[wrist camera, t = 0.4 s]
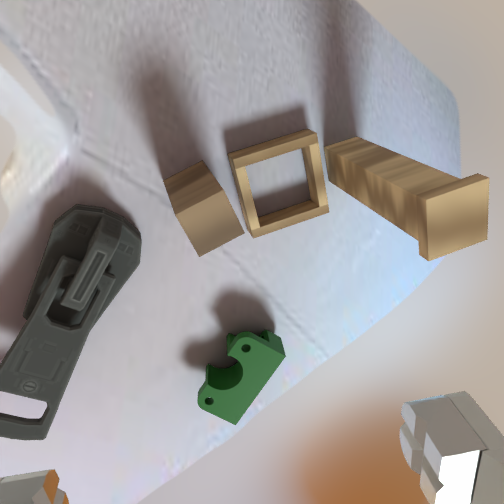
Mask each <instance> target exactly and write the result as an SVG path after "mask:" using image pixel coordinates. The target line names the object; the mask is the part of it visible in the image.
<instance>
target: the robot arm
mask: <svg viewBox="0 0 504 504" xmlns="http://www.w3.org/2000/svg"><path fill="white" fill-rule="evenodd" d="M401 415H402V417H403V418H404V420H405V423H404V424H403V425H402V426H401V428H400V442H401V446H402V451H403V453H404V456H405V459H406V461H407V463H408V465H409V466H410V468H411V469H412V470H413V471H415V472H416V473H418V474H419V475H421V479H420V487H421V489H422V491H423V493H424V495H425V496H426V498H427V500H428V502H429V504H504V436H503V435H502V434H501V432H500V431H499V430H498V429H497V427H496V426H495V425H494V424H493V423H492V421H491V420H490V419H489V418H488V416H487V415H486V414H485V413H484V411H483V410H482V409H481V408H480V407H479V405H478V404H477V403H476V402H475V400H474V399H473V398H472V397H471V396H470V394H468V393H467V392H465V391H463V392H457V393H452V394H447V395H443V396H442V395H440V396H436V397H430V398H425V399H420V400H415V401H410V402H405V403H404V404H403V406H402V411H401ZM58 483H59V477H58V475H57V473H56V471H55V469H54V470H45V471H39V472H32V473H26V474H20V475H14V476H7V477H3V478H0V504H69V501H68V498H67V495H66V493H65V492H64V491H62V490H60V489H58V488H57V487H58Z"/></svg>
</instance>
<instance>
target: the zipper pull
mask: <svg viewBox="0 0 504 504" xmlns="http://www.w3.org/2000/svg"><path fill="white" fill-rule="evenodd" d="M140 254H141V235H140V232H139V231H138V230H137V229H136V228H135V227H134V226H132V225H131V224H130V223H129V222H128V221H127V220H126V219H125V218H124V217H122V216H120V215H118V214H116V213H114V212H111V211H109V210H107V209H105V208H101V207H93V206H86V205H75V206H73V207H72V208H71V209H70V210H68V211H67V212H66V213H65V214H63V215H62V216H61V217H59V218H58V219H57V220H56V221H55V223H54V226H53V229H52V232H51V235H50V238H49V241H48V244H47V247H46V250H45V253H44V256H43V258H42V261H41V264H40V267H39V270H38V272H37V275H36V278H35V281H34V284H33V286H32V289H31V292H30V295H29V298H28V300H27V303H26V306H25V309H24V313H23V317H24V318H25V319H26V320H27V322H26V323H25V325H24V327H23V328H22V330H21V331H20V333H19V335H18V336H17V338H16V340H15V341H14V343H13V344H12V346H11V348H10V349H9V351H8V353H7V354H6V356H5V357H4V359H3V361H2V362H1V364H0V391H3V392H7V393H12V394H16V395H20V396H24V397H28V398H32V399H37V400H41V401H45V402H47V408H46V410H45V412H44V414H43V416H42V417H41V418H39V419H27V418H22V417H17V416H13V415H8V414H4V413H0V437H5V438H10V439H19V440H43V439H45V438H46V436H47V433H48V431H49V429H50V426H51V424H52V421H53V419H54V417H55V414H56V412H57V410H58V407H59V404H60V401H61V399H62V397H63V394H64V392H65V389H66V387H67V385H68V382H69V380H70V377H71V375H72V373H73V370H74V368H75V365H76V363H77V361H78V358H79V356H80V353H81V351H82V348H83V346H84V344H85V341H86V339H87V336H88V334H89V332H90V330H91V329H92V327H93V326H94V325H95V323H96V322H97V321H98V319H99V318H100V317H101V315H102V314H103V312H104V311H105V310H106V308H107V307H108V306H109V304H110V303H111V302H112V300H113V299H114V297H115V296H116V295H117V293H118V292H119V291H120V289H121V288H122V287H123V285H124V284H125V283H126V281H127V280H128V279H129V277H130V276H131V275H132V273H133V272H134V271H135V269H136V268H137V267H138V265H139V264H140Z"/></svg>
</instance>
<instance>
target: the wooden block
mask: <svg viewBox="0 0 504 504" xmlns="http://www.w3.org/2000/svg"><path fill="white" fill-rule="evenodd" d="M163 182H164V185H165V187H166V190H167V193H168V196H169V199H170V202H171V205H172V207H173V210H174V213H175V215H176V217H177V219H178V221H179V222H180V224H181V226H182V228H183V229H184V231H185V233H186V235H187V236H188V238H189V240H190V242H191V243H192V245H193V247H194V249H195V250H196V252H197V254H198V255H199V257H200V256H202V255H204V254H206V253H208V252H210V251H212V250H214V249H215V248H217V247H219V246H221V245H223V244H225V243H227V242H229V241H231V240H232V239H234V238H236V237H238V236H240V235H242V234H244V233H245V232H244V230H243V228H242V226H241V224H240V222H239V220H238V218H237V216H236V214H235V212H234V210H233V208H232V206H231V204H230V202H229V200H228V198H227V196H226V194H225V192H224V190H223V188H222V187H221V186H220V184H219V183H218V181H217V180H216V179H215V177H214V176H213V175H212V173H211V172H210V170H209V169H208V168H207V166H206V165H205V163H204V162H203V161H200V162H198V163H196V164H195V165H193V166H191V167H189V168H187V169H185V170H183V171H181V172H179V173H177V174H175V175H173V176H171V177H169V178H167V179H165V180H164V181H163Z"/></svg>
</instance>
